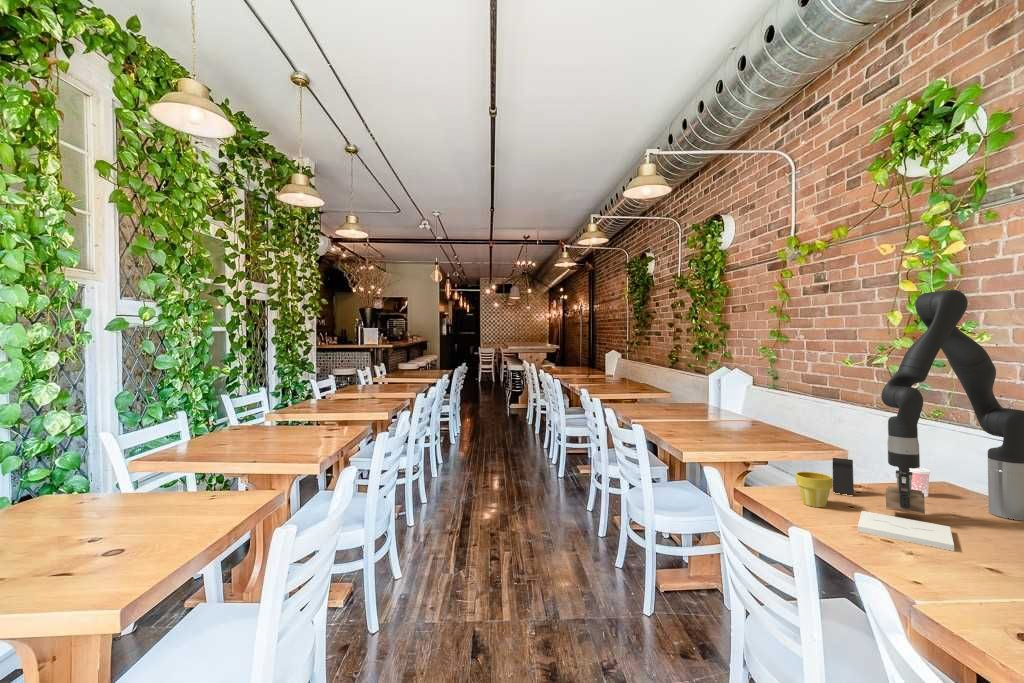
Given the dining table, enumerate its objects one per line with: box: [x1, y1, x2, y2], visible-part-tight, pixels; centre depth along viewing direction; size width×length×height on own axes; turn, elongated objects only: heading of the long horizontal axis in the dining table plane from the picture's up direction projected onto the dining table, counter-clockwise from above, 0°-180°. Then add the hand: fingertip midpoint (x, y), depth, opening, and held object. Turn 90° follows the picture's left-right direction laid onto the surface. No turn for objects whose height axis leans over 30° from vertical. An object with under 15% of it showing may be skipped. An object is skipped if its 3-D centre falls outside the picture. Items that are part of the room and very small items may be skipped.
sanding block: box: [885, 485, 926, 516], centre depth 143 cm, size 9×6×6 cm, turn 49°
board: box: [857, 510, 955, 552], centre depth 132 cm, size 20×16×2 cm
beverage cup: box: [909, 454, 931, 498], centre depth 164 cm, size 6×6×14 cm
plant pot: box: [795, 471, 833, 508], centre depth 155 cm, size 10×10×10 cm
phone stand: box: [832, 457, 855, 496], centre depth 168 cm, size 9×6×12 cm, turn 146°
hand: (905, 505), depth 143 cm, fingers closed on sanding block, 5 cm apart
